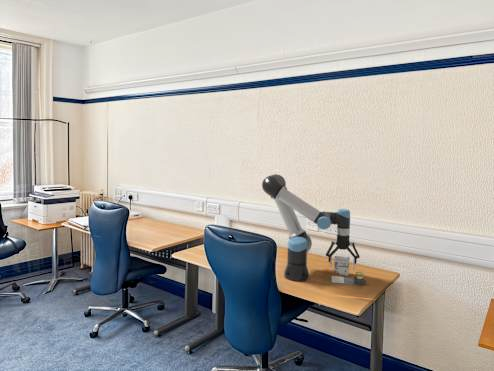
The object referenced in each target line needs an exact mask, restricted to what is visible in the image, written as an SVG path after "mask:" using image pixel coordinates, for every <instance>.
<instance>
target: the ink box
mask: <svg viewBox="0 0 494 371" xmlns="http://www.w3.org/2000/svg"><path fill="white" fill-rule="evenodd" d="M333 260H334V261H333V274H336V275H341V276H348V275H349V273H350V256H348V255H347V256H346V255H341V254H336V255H334V259H333Z"/></svg>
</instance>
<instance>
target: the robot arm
mask: <svg viewBox="0 0 494 371" xmlns="http://www.w3.org/2000/svg"><path fill="white" fill-rule="evenodd" d="M261 188H262V190H263V192H264V193H266V194H267V195H268V196H270V198H271V199H272V200H274V202H275V204H276V206H277V208H278V211H279V213H280V215H281V217H282V220H283V223H284V225H285V227H286V229H287V232H288V241H287V261H286V263H287V264H286V267H285V269H284V271H283V272H284V273H283V277H284V278H285V279H287V280H290V281H295V282H300V281H301V282H303V281H307V280H308V279H309V278H310V272H309V269H308V266H307V265H308V263H307V261H308V253H309V251H310V250H311V249H312V246H313V245H312V244H313V242H312V239H311V237H310V236H309V235H308V234H307V231H306V230H305V229H303V228H302V225H301V223H300V222H299V218H298V217H297V215H296V213H295V211H296V212H297V213H298V214H301V215H302V216H303V217H305V218H306V219H308V220H309V221H311V222H313V223H314V224H316V225H317V227H318V228H319V229H320V230H324V231H325V230H327V229H328V228H330V227H331V226H332V225H335V226H336V225H337V227H336V233H337V234H336V241H333V240H332V241H331V244H330V246H329V247H328V249H327V251H326V252H325V256H326V257H328V263H329V267H330V269H332V266H333V255H334V254H335V253H336V252H337V251H339V250H343V251H345V250H347V251H348V252H349V254H350V255H351V256H352V270H355V265H356V264H357V259H360V258H361V256H360V253H358V250H357V247H356V245H355V242H354V241H352V242H350V232H351V229H350V228H351V211H350V210H349V209H347V208H346V209H345V208H339V209H338V210H337V212H336V211H333V212H332V211H321V210H319V209H317V208H316V207H314V206H313V205H311V204H309V203H308V202H306V201H305V200H304V199H302V198H301V197H299V196H297V195H296V194H294V193H292V192H291V191H290V190H288V188H287V183H286V180H285V178H284V177H283V176H282V175H280V174H277V173H275V174H270V175H268V176H266V177H265V178H264V179H263V180H262V183H261ZM335 245H336V247H335V248H334V249H333V247H334V246H335ZM350 246H351V247H352V249H353V250H352V249H351V248H350ZM331 250H332V251H331ZM353 251H354V252H353Z"/></svg>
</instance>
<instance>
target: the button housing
mask: <svg viewBox="0 0 494 371" xmlns="http://www.w3.org/2000/svg"><path fill="white" fill-rule="evenodd" d="M353 278H354V285H355V286H364V285H365V286H366V278H365V276H363V280H360V279H356V275H354V276H353Z"/></svg>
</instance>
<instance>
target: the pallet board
mask: <svg viewBox="0 0 494 371" xmlns="http://www.w3.org/2000/svg"><path fill="white" fill-rule="evenodd" d="M330 283H332V284H345V285H354V277H345V276H336V275H335V276H334V275H331V276H330ZM363 286H366V284H365V285H363Z"/></svg>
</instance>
